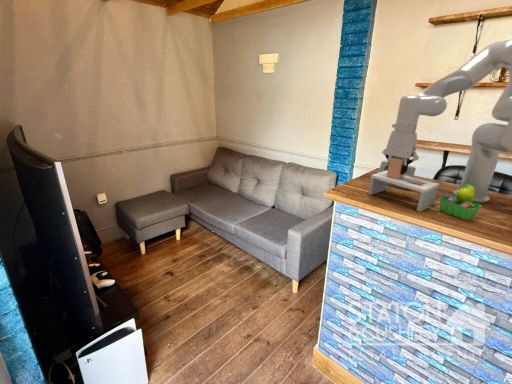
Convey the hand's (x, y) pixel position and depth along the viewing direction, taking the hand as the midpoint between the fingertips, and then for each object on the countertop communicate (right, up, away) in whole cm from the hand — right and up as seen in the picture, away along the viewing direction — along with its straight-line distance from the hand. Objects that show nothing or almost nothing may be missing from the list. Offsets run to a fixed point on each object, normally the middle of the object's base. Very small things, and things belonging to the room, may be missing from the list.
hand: (396, 171), depth 115 cm
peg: (0, -5, +2) cm, 5 cm away
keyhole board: (+2, -12, +1) cm, 12 cm away
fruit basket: (+18, -17, -11) cm, 27 cm away
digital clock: (+8, -5, +18) cm, 21 cm away
